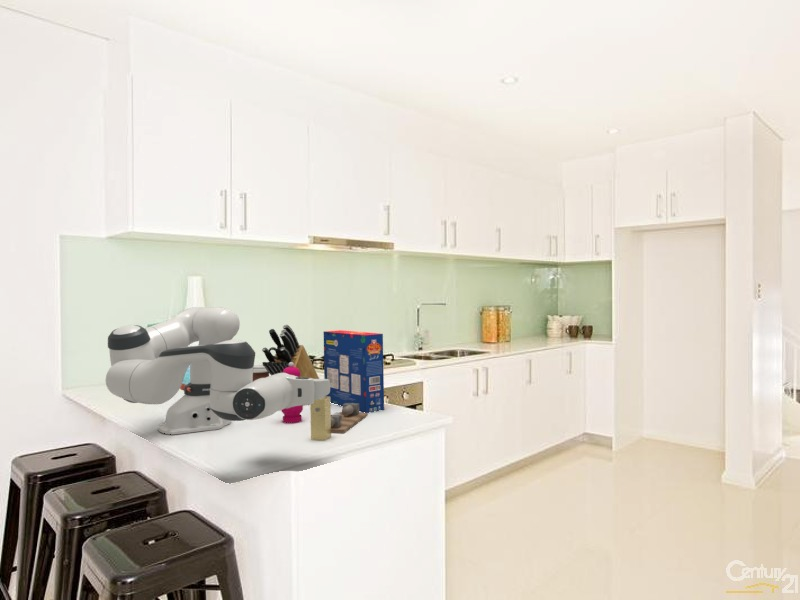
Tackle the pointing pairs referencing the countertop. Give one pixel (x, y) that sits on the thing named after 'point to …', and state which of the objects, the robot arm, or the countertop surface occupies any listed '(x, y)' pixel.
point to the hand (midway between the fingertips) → (303, 381)
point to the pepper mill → (294, 412)
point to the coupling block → (321, 419)
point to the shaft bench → (346, 418)
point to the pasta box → (355, 368)
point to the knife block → (288, 354)
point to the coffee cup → (259, 372)
